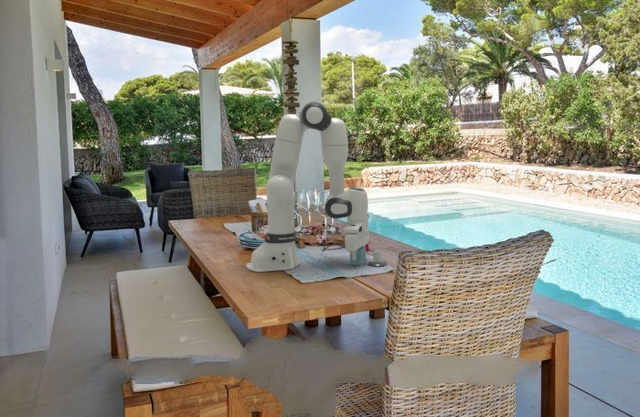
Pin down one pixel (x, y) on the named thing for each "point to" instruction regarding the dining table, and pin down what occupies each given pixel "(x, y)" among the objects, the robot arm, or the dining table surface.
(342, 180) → the robot arm
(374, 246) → the dining table surface
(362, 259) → the teal rectangular block
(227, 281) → the dining table surface
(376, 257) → the grey round stand
